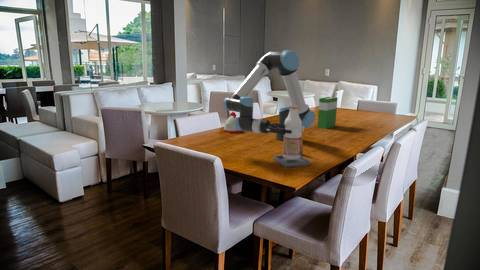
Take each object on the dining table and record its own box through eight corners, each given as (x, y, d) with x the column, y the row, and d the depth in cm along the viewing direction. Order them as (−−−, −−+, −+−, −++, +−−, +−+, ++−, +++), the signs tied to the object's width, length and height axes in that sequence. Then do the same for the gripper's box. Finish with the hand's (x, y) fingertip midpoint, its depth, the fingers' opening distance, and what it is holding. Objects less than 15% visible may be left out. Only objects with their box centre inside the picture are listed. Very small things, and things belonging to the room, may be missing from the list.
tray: (297, 157, 187) (297, 153, 187) (310, 164, 174) (310, 161, 173) (273, 159, 182) (273, 156, 182) (285, 167, 169) (285, 163, 169)
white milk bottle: (279, 156, 179) (281, 105, 173) (293, 154, 184) (295, 104, 177) (289, 161, 171) (292, 108, 165) (303, 158, 175) (306, 107, 169)
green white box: (327, 124, 282) (329, 96, 276) (335, 125, 277) (337, 97, 272) (317, 127, 269) (319, 98, 263) (325, 129, 264) (327, 99, 259)
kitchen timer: (229, 133, 244) (229, 114, 241) (220, 130, 255) (220, 111, 252) (245, 131, 251) (245, 112, 248) (235, 128, 263) (235, 110, 259)
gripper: (269, 129, 192) (306, 133, 182) (253, 136, 173) (294, 142, 163) (269, 116, 190) (307, 120, 180) (253, 122, 172) (294, 127, 162)
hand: (301, 130), depth 172 cm, fingers closed on white milk bottle, 9 cm apart
